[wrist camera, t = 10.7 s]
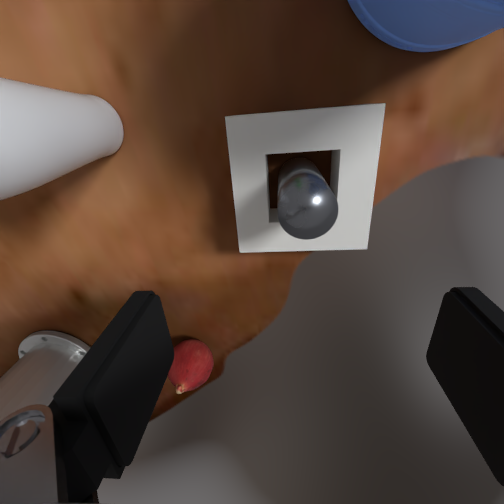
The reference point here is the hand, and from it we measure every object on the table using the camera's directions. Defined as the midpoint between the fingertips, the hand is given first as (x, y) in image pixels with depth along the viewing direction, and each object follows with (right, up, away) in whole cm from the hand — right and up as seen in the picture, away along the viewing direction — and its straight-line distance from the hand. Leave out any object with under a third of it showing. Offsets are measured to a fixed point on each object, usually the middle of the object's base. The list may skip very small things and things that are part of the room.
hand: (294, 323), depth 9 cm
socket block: (+3, +10, +18) cm, 21 cm away
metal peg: (+3, +10, +18) cm, 21 cm away
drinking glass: (-16, +15, +17) cm, 28 cm away
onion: (-9, -10, +30) cm, 33 cm away
